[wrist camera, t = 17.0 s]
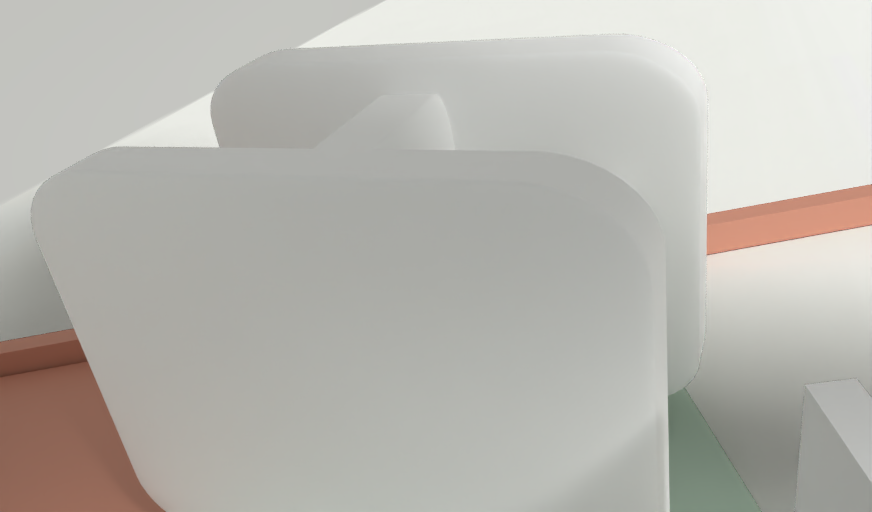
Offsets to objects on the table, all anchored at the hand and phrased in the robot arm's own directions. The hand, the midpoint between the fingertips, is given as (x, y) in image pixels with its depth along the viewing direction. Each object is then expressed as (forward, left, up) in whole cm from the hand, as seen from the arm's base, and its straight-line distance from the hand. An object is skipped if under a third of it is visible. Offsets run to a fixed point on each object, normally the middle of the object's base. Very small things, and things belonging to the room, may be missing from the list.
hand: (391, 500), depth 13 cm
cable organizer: (-1, -9, -8) cm, 12 cm away
